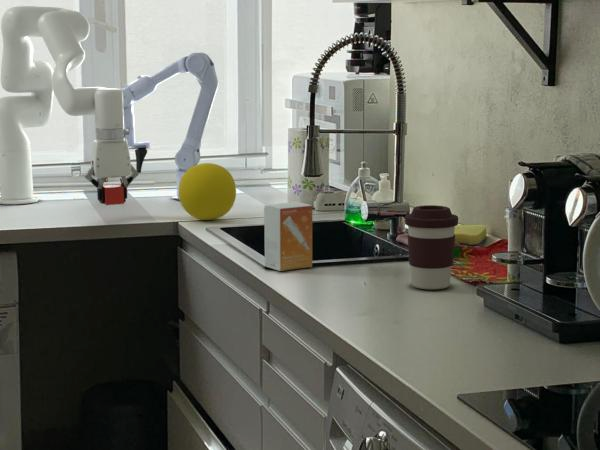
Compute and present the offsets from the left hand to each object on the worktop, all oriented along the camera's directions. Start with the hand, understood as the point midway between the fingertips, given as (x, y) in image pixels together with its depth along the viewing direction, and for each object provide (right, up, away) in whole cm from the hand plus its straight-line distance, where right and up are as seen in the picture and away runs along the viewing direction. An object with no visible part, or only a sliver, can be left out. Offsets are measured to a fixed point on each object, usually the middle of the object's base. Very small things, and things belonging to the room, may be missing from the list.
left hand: (112, 201), depth 282 cm
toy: (+26, -5, -4) cm, 27 cm away
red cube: (0, 0, 0) cm, 0 cm away
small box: (+48, -15, -66) cm, 83 cm away
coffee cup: (+75, -18, -84) cm, 114 cm away
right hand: (-2, +9, +36) cm, 37 cm away
